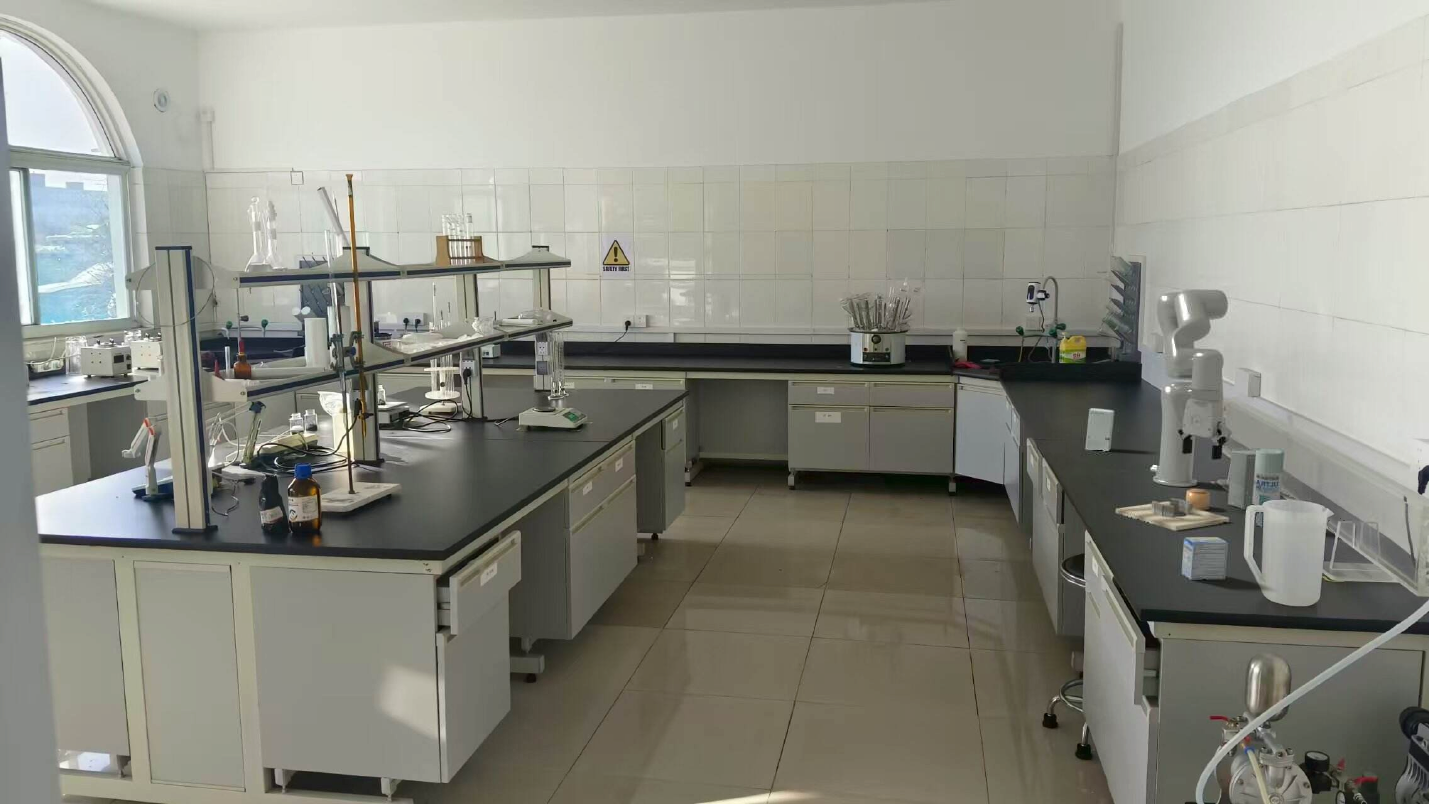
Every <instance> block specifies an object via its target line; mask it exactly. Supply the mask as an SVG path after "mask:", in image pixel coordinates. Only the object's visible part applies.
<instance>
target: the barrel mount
mask: <svg viewBox="0 0 1429 804" xmlns="http://www.w3.org/2000/svg"><path fill="white" fill-rule="evenodd" d="M1115 514H1117V515H1121V514H1122V515H1121V516H1125V517H1127V516H1128V517H1127V518H1131V517H1132V519H1134V520H1137V519H1139V520H1138V521H1140V522H1141V521H1142V522H1144V521H1145V522H1144V523H1147V522H1149V523H1148V524H1151V525H1154V524H1155V526H1158V527H1160V528H1165V529H1169V530H1172V531H1175V532H1176V531H1182V530H1183V531H1184V530H1188V529H1195V528H1201V527H1202V528H1203V527H1206V526H1208V527H1209V526H1215V525H1219V524H1220V523H1221V524H1224V523H1223V522H1227V523H1229V521H1230V518H1229V517H1227V516H1223V515H1219V514H1217V513H1216V514H1215V513H1211V512H1209V511H1206V510H1198V509H1194V508H1193V504H1192V503H1191V502H1188V501H1186V499H1185V500H1184V499H1179V498H1172V497H1171V498H1170V501H1161V502H1158V501H1156V500H1151V503H1148V504H1142V505H1135V506H1127V507H1121V508H1115Z"/></svg>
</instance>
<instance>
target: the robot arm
mask: <svg viewBox="0 0 1429 804" xmlns="http://www.w3.org/2000/svg"><path fill="white" fill-rule="evenodd" d="M1228 306H1229V302H1228V297H1227V295H1226V294H1225V292H1224V291H1222V290H1220V289H1197V288H1196V289H1195V288H1194V289H1186V290H1185V289H1184V290H1182V291H1176V292H1175V291H1173V292H1167V293H1163V294H1162V295H1160V296H1159V297H1158V299H1157V303H1156V316H1157V319H1158V323H1159V327H1160V329H1161V332H1162V335H1163V339H1164V343H1163V344H1164V366H1165V367H1164V368H1165V372H1166V376H1167V377H1168V378H1170V379H1173V380H1183V381H1175V382H1169V383H1166V384H1165V385H1164V386H1163V387H1162V388H1161V391H1160V402H1161V417H1162V418H1161V419H1162V420H1161V436H1160V437H1161V438H1160V451H1159V465H1157V464H1153V465H1152V466H1151V467H1150V468H1149V469H1150V470H1149V471H1150V472H1152V473H1153V472H1154V473H1155V475H1154V476H1153V478H1152V481H1153V482H1155V483H1156V484H1159V485H1164V486H1169V487H1181V488H1182V487H1183V488H1185V487H1187V488H1188V487H1194V486H1197V485H1198V480H1197V479H1195V478H1193V467H1194V456H1195V454H1194V453H1195V452H1194V451H1195V440H1196V437H1200V438H1207V439H1208V438H1210V439H1211V441H1212V443H1213V444H1212V446H1211V460H1214V461H1215V460H1221V459H1222V456H1223V446H1225V444H1226V442H1227V441H1229V440H1230V436H1231V435H1232V433H1233V432H1232V430H1231V429H1230V428H1228V427H1227V426H1226V425H1224V410H1223V404H1224V385H1223V368H1224V355H1223V354H1222V353H1221V351H1219V350H1218V349H1213V348H1196V347H1195V342H1197V341H1200V340H1202V339H1203V338H1205V337H1206V336H1207V335H1208V334H1209V333H1210V332H1211V321H1212V320H1218V319H1223V318H1224V317H1225V316H1226V315H1227V313H1228V308H1229V307H1228ZM1186 380H1187V381H1186ZM1185 381H1186V382H1185ZM1189 381H1191V382H1189Z"/></svg>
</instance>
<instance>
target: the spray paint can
mask: <svg viewBox="0 0 1429 804" xmlns="http://www.w3.org/2000/svg"><path fill="white" fill-rule="evenodd" d="M1255 451H1256V461H1255V474H1254V488H1253V502H1252V504H1254V505H1261V504H1263V503H1264V502H1266V501H1268V500H1276V499H1280V500H1281V491H1282V481H1283V472H1284V471H1283V469H1284V461H1285V460H1284V459H1285V452H1284V451H1283V450H1279V449H1272V448H1258V449H1256V450H1255ZM1256 523H1257V525H1258V526H1260V527H1259V528H1260V529H1263V528H1262V513H1261V512H1259V514H1257V516H1256Z"/></svg>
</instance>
